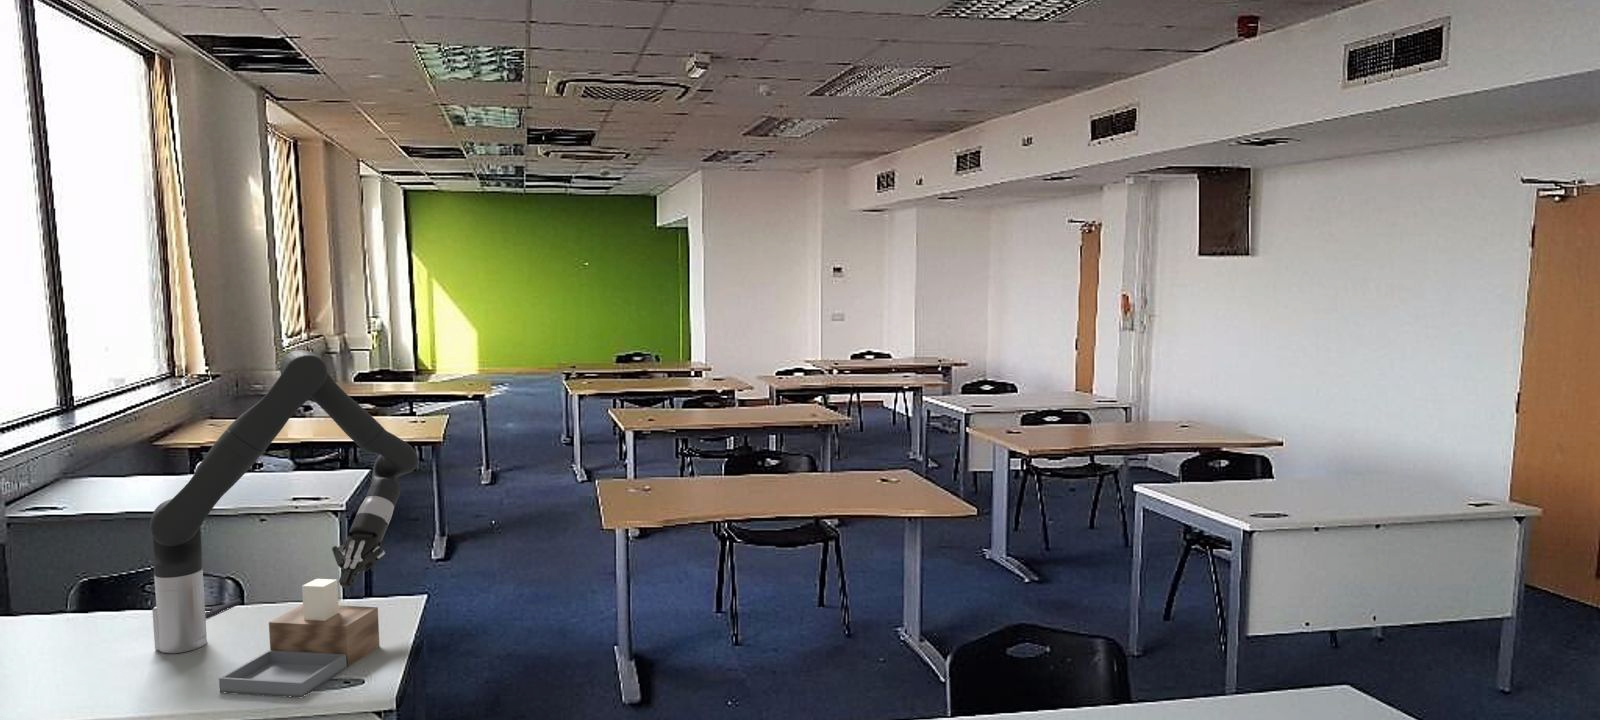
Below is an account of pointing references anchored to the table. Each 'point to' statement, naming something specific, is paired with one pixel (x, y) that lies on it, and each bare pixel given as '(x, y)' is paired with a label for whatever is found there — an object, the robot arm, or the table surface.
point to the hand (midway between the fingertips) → (344, 586)
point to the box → (283, 673)
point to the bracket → (220, 608)
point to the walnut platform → (328, 633)
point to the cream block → (320, 599)
